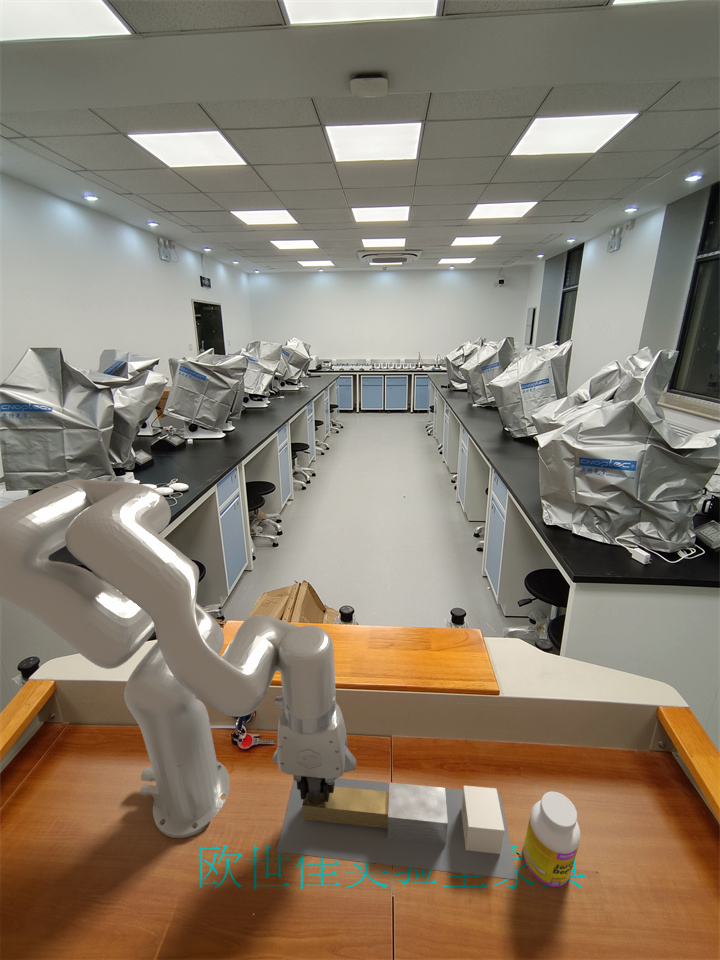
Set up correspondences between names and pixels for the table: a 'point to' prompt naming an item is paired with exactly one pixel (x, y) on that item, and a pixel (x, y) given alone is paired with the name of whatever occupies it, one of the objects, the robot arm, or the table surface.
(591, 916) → the table surface
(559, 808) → the supplement bottle
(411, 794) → the sleeve
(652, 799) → the table surface
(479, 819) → the cream rectangular block
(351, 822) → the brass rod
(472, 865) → the base board
